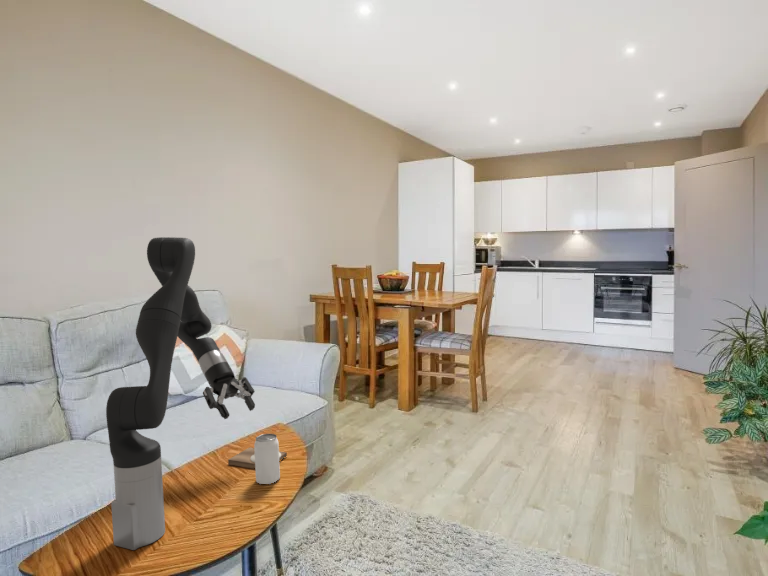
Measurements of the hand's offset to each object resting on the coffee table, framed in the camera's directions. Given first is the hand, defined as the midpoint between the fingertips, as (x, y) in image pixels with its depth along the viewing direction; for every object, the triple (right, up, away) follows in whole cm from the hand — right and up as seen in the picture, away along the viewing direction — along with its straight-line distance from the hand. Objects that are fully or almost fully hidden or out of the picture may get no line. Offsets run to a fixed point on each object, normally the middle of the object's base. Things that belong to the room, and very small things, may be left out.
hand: (240, 413), depth 135 cm
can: (+10, -17, -6) cm, 21 cm away
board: (+3, -16, +7) cm, 18 cm away
